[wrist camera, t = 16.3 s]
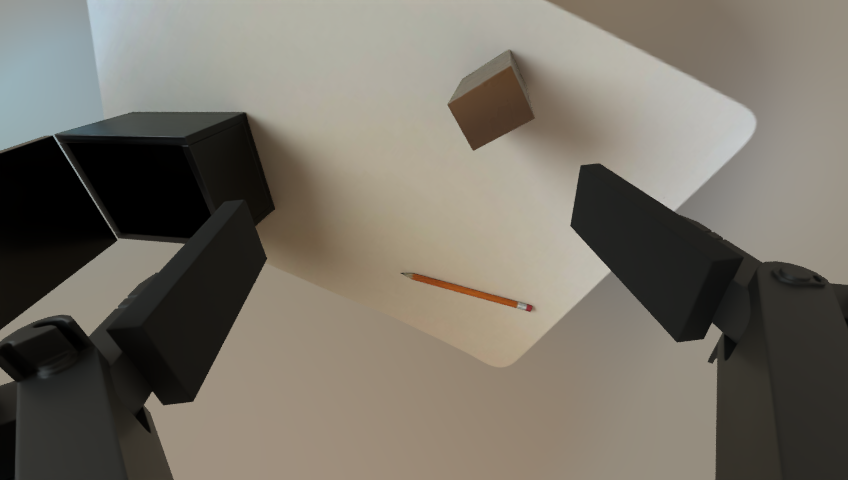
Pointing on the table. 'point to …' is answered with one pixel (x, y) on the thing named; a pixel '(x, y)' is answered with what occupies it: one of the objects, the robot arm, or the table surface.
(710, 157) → the table surface
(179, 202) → the black box
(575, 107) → the table surface
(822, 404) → the robot arm
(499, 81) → the tall brown wooden bar
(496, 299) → the pencil
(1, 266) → the box lid
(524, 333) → the table surface
